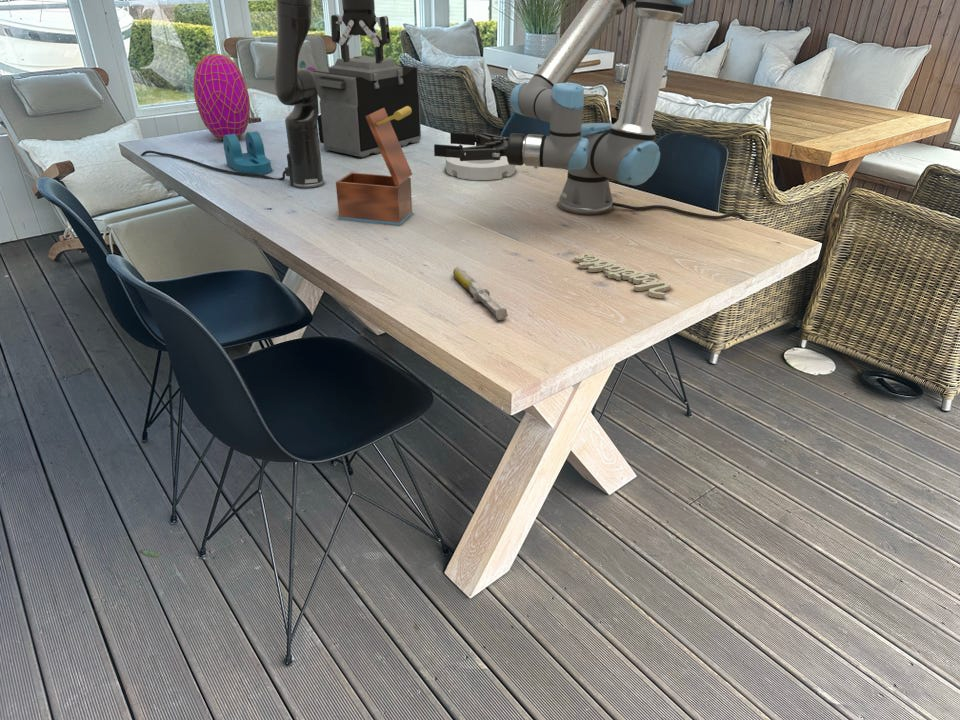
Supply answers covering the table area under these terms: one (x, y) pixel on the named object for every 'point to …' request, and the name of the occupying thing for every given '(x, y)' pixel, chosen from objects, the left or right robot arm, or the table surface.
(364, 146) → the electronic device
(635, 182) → the right robot arm
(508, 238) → the table surface
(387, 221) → the chest
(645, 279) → the decorative sign
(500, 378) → the table surface
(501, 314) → the syringe
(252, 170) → the camera mount
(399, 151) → the lid
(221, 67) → the decorative egg
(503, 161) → the ashtray
